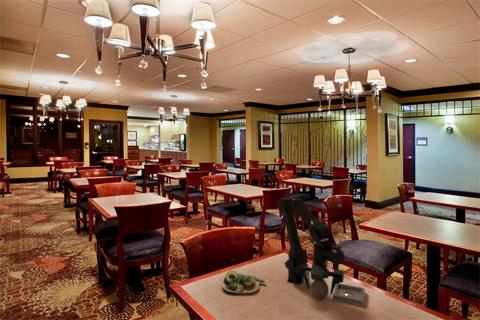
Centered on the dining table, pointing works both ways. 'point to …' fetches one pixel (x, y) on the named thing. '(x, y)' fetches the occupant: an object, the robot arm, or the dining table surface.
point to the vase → (319, 289)
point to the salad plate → (240, 283)
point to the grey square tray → (349, 294)
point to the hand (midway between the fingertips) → (319, 291)
